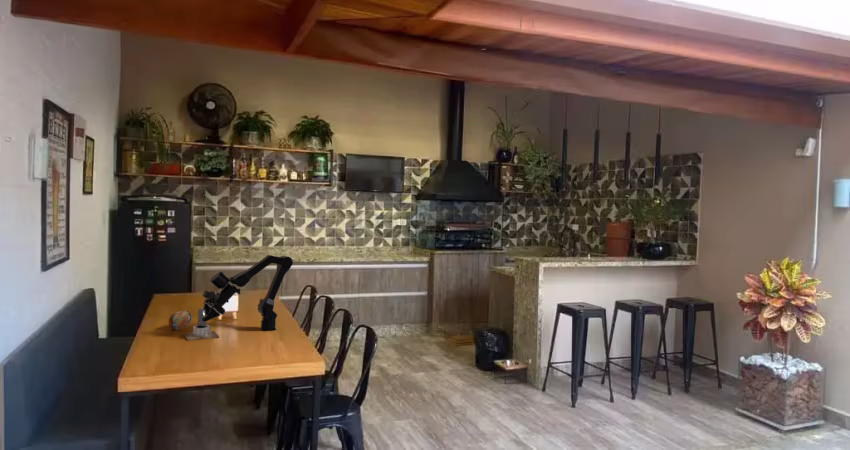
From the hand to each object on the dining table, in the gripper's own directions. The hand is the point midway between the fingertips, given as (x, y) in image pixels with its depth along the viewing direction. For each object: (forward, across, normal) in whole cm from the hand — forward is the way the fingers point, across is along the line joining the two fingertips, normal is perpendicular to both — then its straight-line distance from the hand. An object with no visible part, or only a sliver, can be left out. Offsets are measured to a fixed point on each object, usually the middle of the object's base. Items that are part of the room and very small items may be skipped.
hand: (201, 319), depth 267 cm
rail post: (+5, 0, +5) cm, 7 cm away
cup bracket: (+6, 0, +6) cm, 8 cm away
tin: (+10, -24, +2) cm, 25 cm away
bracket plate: (+6, 0, +6) cm, 8 cm away
